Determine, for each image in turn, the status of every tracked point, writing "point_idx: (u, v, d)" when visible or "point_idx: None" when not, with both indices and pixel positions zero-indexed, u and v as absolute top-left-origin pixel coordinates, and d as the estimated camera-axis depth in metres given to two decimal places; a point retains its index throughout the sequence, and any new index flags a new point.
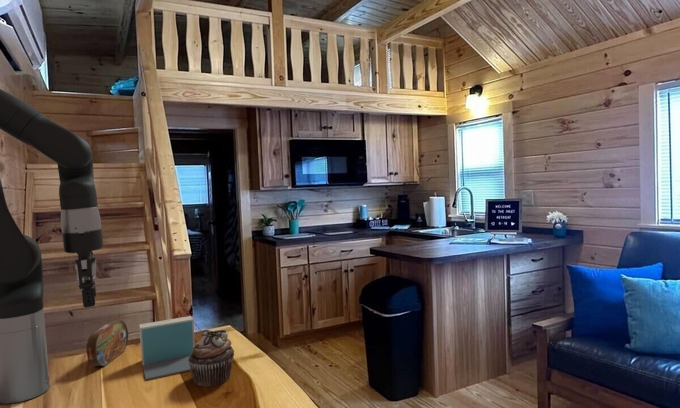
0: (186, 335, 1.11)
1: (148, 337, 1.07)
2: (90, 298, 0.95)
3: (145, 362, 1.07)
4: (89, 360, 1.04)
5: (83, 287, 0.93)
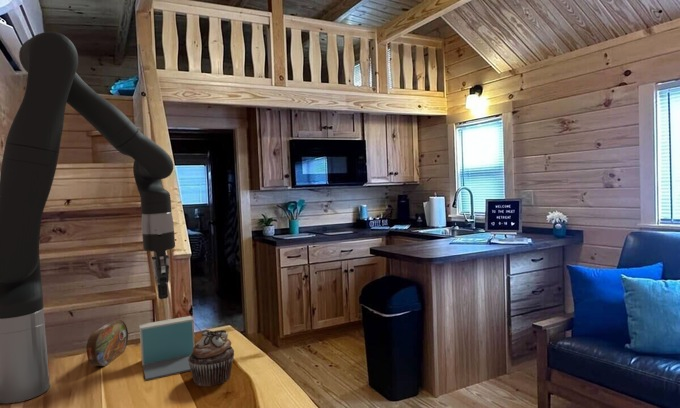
0: (186, 335, 1.11)
1: (148, 337, 1.07)
2: (165, 291, 1.15)
3: (145, 362, 1.07)
4: (89, 360, 1.04)
5: (160, 282, 1.12)
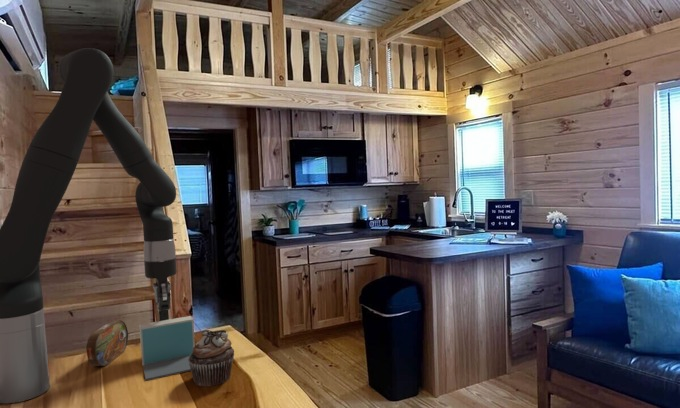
0: (186, 335, 1.11)
1: (148, 337, 1.07)
2: (166, 318, 1.15)
3: (145, 362, 1.07)
4: (89, 360, 1.04)
5: (162, 309, 1.13)
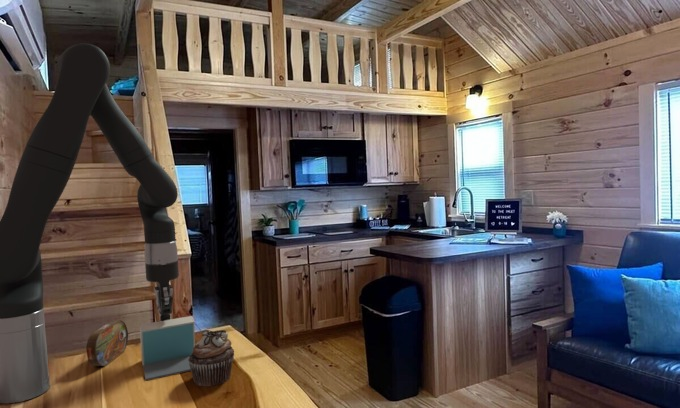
0: (187, 337, 1.10)
1: (148, 339, 1.06)
2: None
3: (145, 362, 1.07)
4: (89, 360, 1.04)
5: (163, 313, 1.09)
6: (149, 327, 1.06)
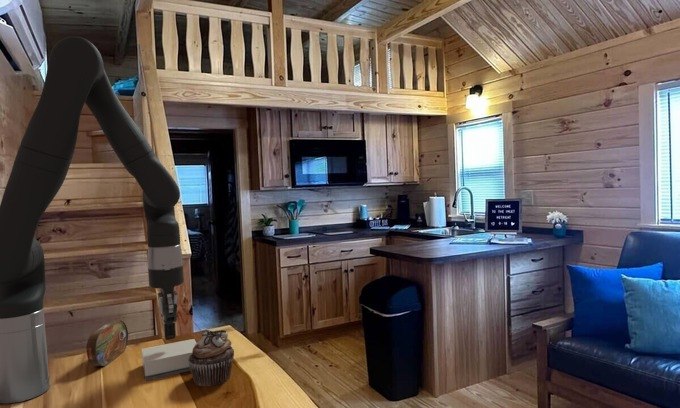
0: None
1: None
2: (172, 331, 1.04)
3: None
4: (89, 360, 1.04)
5: (167, 322, 1.02)
6: (154, 370, 1.00)
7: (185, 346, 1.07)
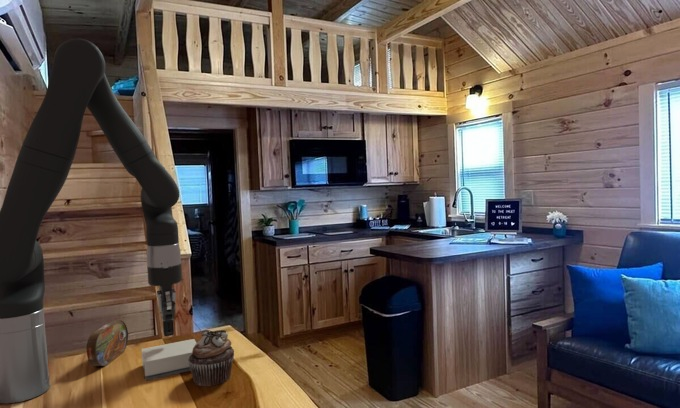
0: None
1: None
2: (170, 328, 1.07)
3: None
4: (89, 360, 1.04)
5: (166, 319, 1.05)
6: (154, 370, 1.00)
7: (185, 346, 1.07)
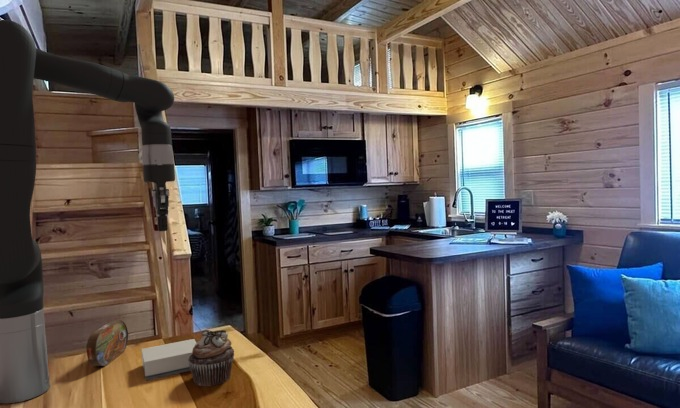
0: None
1: None
2: (164, 223, 1.15)
3: None
4: (89, 360, 1.04)
5: (160, 213, 1.13)
6: (154, 370, 1.00)
7: (185, 346, 1.07)
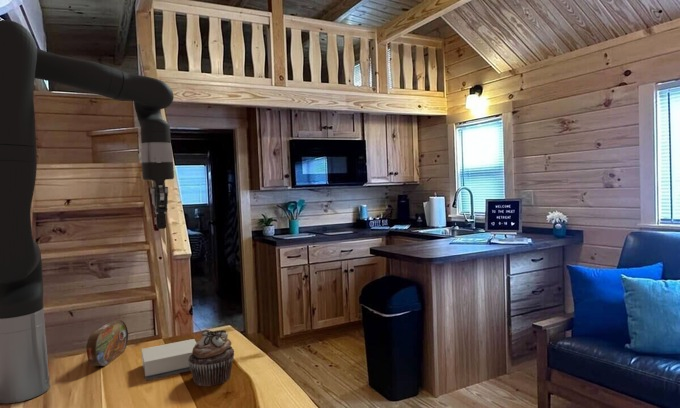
0: None
1: None
2: (163, 221, 1.16)
3: None
4: (89, 360, 1.04)
5: (159, 210, 1.14)
6: (154, 370, 1.00)
7: (185, 346, 1.07)
